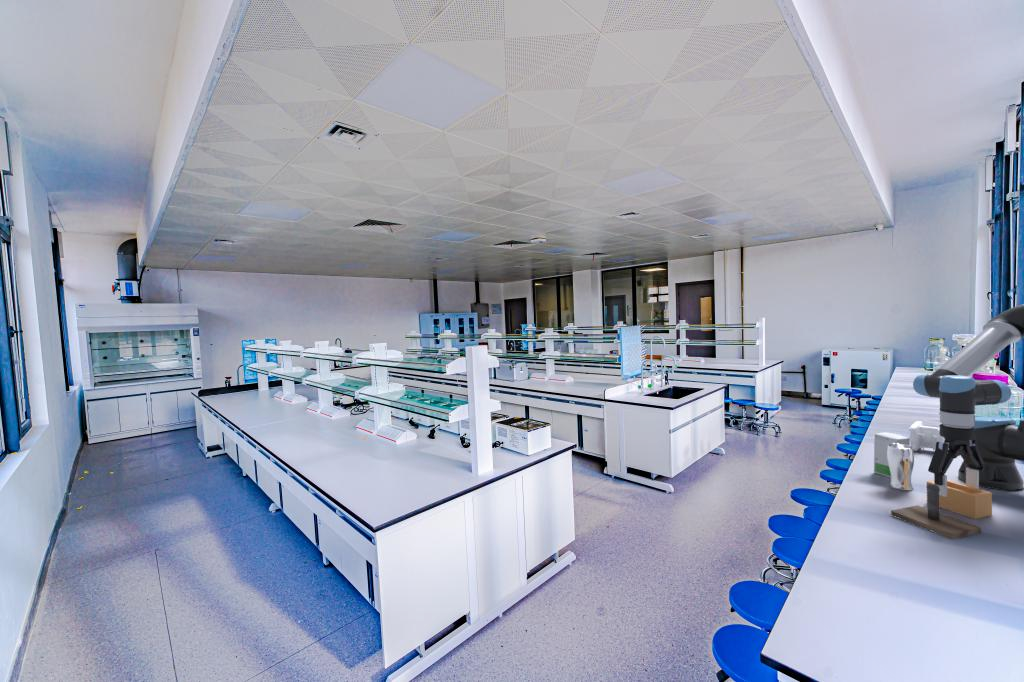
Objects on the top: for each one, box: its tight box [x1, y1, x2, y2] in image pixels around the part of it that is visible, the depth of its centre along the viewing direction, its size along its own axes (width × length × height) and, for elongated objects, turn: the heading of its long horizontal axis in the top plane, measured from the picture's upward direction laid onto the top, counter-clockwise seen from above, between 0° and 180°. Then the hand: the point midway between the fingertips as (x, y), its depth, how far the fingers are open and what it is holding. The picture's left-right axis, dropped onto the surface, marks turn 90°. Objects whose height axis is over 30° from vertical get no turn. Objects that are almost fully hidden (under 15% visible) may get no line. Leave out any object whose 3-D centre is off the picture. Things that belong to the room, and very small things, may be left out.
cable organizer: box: [908, 420, 945, 452], centre depth 180 cm, size 15×11×12 cm
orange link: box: [926, 479, 993, 520], centre depth 129 cm, size 12×7×7 cm, turn 13°
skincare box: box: [873, 431, 910, 479], centre depth 157 cm, size 8×7×16 cm
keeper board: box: [890, 483, 982, 540], centre depth 121 cm, size 11×15×12 cm
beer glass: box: [887, 443, 915, 492], centre depth 146 cm, size 7×7×15 cm
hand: (956, 492), depth 129 cm, fingers open, 13 cm apart
